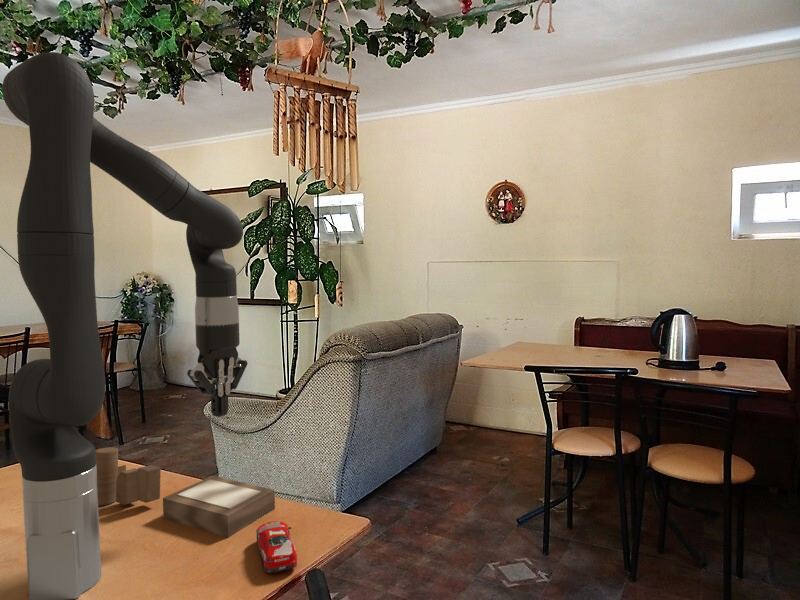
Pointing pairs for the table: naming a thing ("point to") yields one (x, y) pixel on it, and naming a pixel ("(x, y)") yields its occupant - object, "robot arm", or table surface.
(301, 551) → the table surface
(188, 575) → the table surface
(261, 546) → the race car
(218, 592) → the table surface
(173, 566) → the table surface
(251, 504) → the picture frame
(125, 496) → the wooden block set
